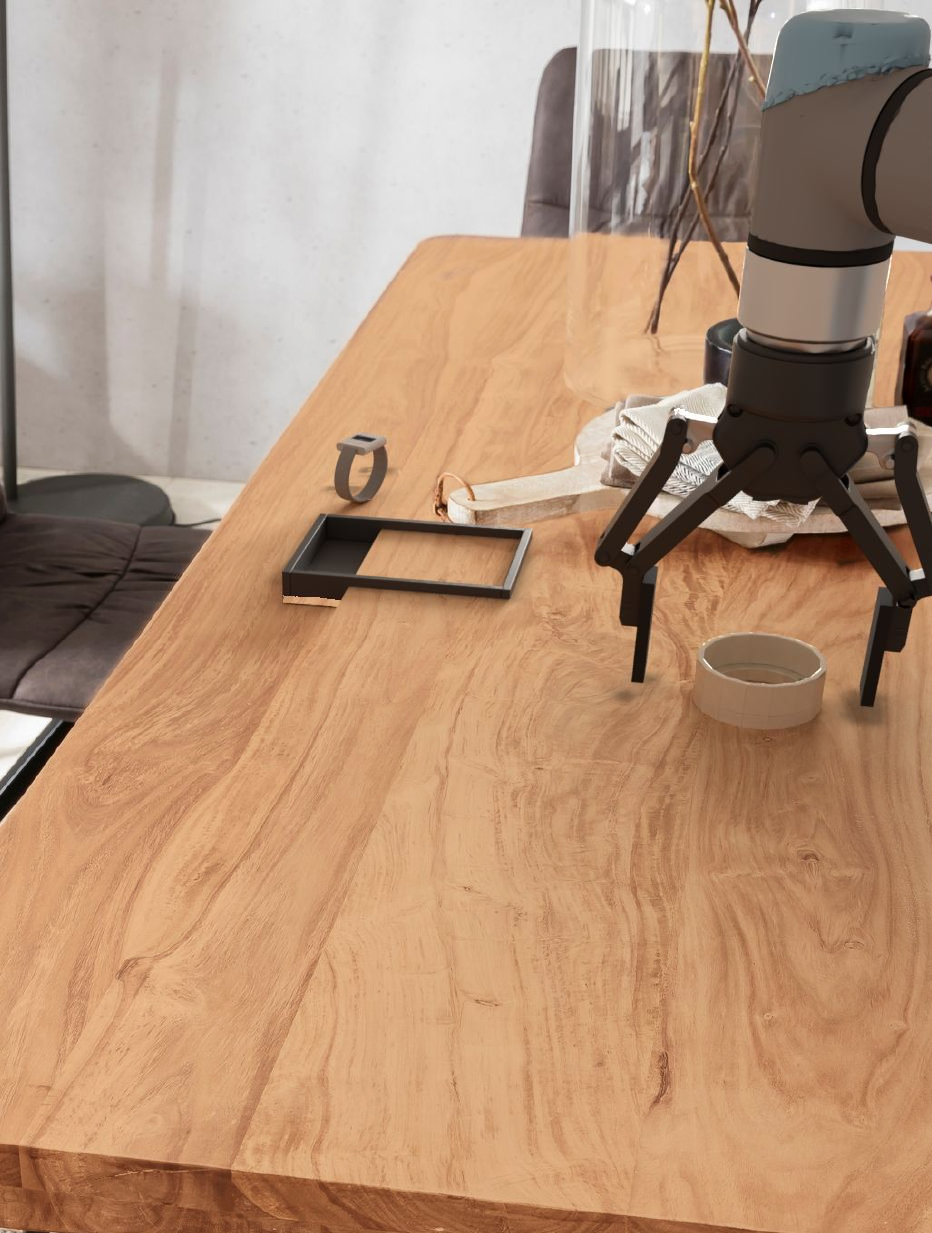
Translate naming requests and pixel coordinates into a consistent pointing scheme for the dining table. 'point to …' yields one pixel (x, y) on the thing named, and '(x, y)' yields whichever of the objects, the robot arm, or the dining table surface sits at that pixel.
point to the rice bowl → (765, 660)
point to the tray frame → (347, 539)
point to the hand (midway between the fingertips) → (751, 685)
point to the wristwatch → (349, 448)
